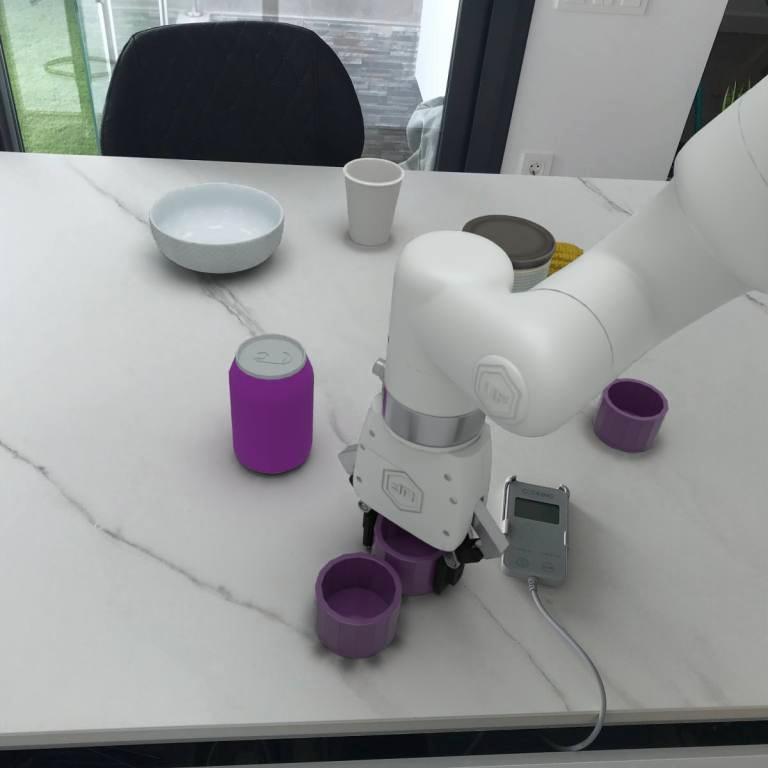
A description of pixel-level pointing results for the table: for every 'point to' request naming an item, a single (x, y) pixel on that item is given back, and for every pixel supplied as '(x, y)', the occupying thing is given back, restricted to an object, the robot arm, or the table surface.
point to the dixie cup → (371, 198)
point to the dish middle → (406, 556)
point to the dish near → (357, 604)
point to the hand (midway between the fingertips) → (410, 557)
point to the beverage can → (271, 403)
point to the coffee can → (518, 246)
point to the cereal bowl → (217, 226)
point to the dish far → (630, 415)
